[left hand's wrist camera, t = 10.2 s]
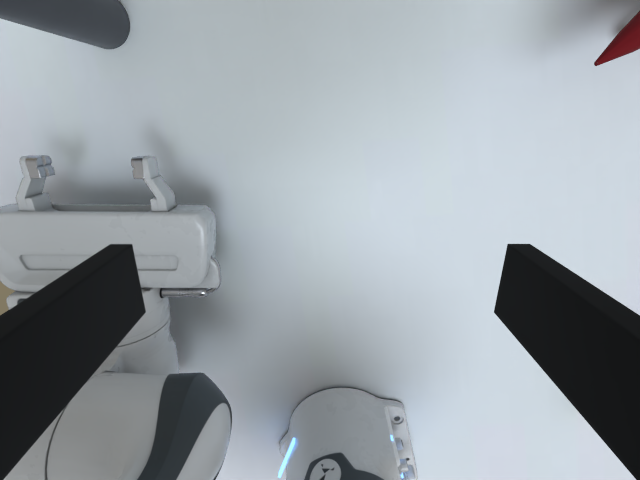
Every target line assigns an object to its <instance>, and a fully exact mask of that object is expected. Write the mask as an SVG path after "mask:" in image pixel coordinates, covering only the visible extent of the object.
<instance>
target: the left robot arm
mask: <svg viewBox="0 0 640 480" xmlns="http://www.w3.org/2000/svg"><path fill="white" fill-rule="evenodd" d="M145 313H146V310H145V305H144V300H143V295H142V290H141V285H140V280H139V275H138V270H137V265H136V260H135V255H134V250H133V246H132V244H110V245H108V246H106V247H105V248H103V249H102V250H100V251H99V252H97V253H96V254H94V255H93V256H91V257H90V258H88V259H87V260H85V261H83V262H82V263H80V264H79V265H77V266H76V267H74V268H73V269H71V270H70V271H68V272H67V273H65V274H63V275H62V276H60V277H59V278H57V279H56V280H54V281H53V282H51V283H50V284H48V285H47V286H45V287H43V288H42V289H40V290H39V291H37V292H36V293H34V294H33V295H31V296H30V297H28V298H27V299H25V300H24V301H22V302H20V303H19V304H17V305H16V306H14V307H13V308H11V309H10V310H8V311H7V312H5V313H4V314H2V315H0V480H4V478H5V477H6V476H7V475H8V474H9V473H10V471H11V470H12V469H13V468H14V467H15V466H16V464H17V463H18V462H19V461H20V460H21V458H22V457H23V456H24V455H25V454H26V453H27V451H28V450H29V449H30V448H31V447H32V446H33V444H34V443H35V442H36V441H37V440H38V438H39V437H40V436H41V435H42V434H43V433H44V431H45V430H46V429H47V428H48V427H49V426H50V424H51V423H52V422H53V421H54V420H55V419H56V417H57V416H58V415H59V414H60V413H61V411H62V410H63V409H64V408H65V407H66V406H67V404H68V403H69V402H70V401H71V400H72V399H73V397H74V396H75V395H76V394H77V393H78V391H79V390H80V389H81V388H82V387H83V386H84V384H85V383H86V382H87V381H88V380H89V379H90V377H91V376H92V375H93V374H94V373H95V371H96V370H97V369H98V368H99V367H100V366H101V364H102V363H103V362H104V361H105V360H106V359H107V357H108V356H109V355H110V354H111V353H112V352H113V350H114V349H115V348H116V347H117V346H118V344H119V343H120V342H121V341H122V340H123V339H124V337H125V336H126V335H127V334H128V333H129V332H130V330H131V329H132V328H133V327H134V326H135V324H136V323H137V322H138V321H139V320H140V319H141V317H142V316H143V315H144V314H145ZM494 313H495V314H496V315H497V316H498V317H499V319H500V320H501V321H502V322H503V323H504V324H505V326H506V327H507V328H508V329H509V330H510V332H511V333H512V334H513V335H514V336H515V337H516V339H517V340H518V341H519V342H520V343H521V344H522V346H523V347H524V348H525V349H526V350H527V352H528V353H529V354H530V355H531V356H532V357H533V359H534V360H535V361H536V362H537V363H538V364H539V366H540V367H541V368H542V369H543V370H544V371H545V373H546V374H547V375H548V376H549V377H550V379H551V380H552V381H553V382H554V383H555V384H556V386H557V387H558V388H559V389H560V390H561V391H562V393H563V394H564V395H565V396H566V397H567V399H568V400H569V401H570V402H571V403H572V404H573V406H574V407H575V408H576V409H577V410H578V411H579V413H580V414H581V415H582V416H583V417H584V419H585V420H586V421H587V422H588V423H589V424H590V426H591V427H592V428H593V429H594V430H595V431H596V433H597V434H598V435H599V436H600V437H601V438H602V440H603V441H604V442H605V443H606V444H607V446H608V447H609V448H610V449H611V450H612V451H613V453H614V454H615V455H616V456H617V457H618V458H619V460H620V461H621V462H622V463H623V464H624V466H625V467H626V468H627V469H628V470H629V471H630V473H631V474H632V475H633V476H634V477H635V478H636V480H640V315H638V314H636V313H635V312H633V311H632V310H630V309H629V308H627V307H626V306H624V305H623V304H621V303H620V302H618V301H616V300H615V299H613V298H612V297H610V296H609V295H607V294H606V293H604V292H603V291H601V290H600V289H598V288H597V287H595V286H593V285H592V284H590V283H589V282H587V281H586V280H584V279H583V278H581V277H580V276H578V275H577V274H575V273H573V272H572V271H570V270H569V269H567V268H566V267H564V266H563V265H561V264H560V263H558V262H557V261H555V260H553V259H552V258H550V257H549V256H547V255H546V254H544V253H543V252H541V251H540V250H538V249H537V248H535V247H534V246H532V245H530V244H508V246H507V250H506V255H505V260H504V265H503V270H502V275H501V280H500V285H499V290H498V295H497V300H496V305H495V310H494Z"/></svg>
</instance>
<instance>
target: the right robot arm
mask: <svg viewBox="0 0 640 480" xmlns="http://www.w3.org/2000/svg"><path fill="white" fill-rule="evenodd" d="M51 163H52V161H51V158H50V157H49V156H46V155H29V156H23V157H21V158H20V165H21V169H22V173H23V176H24V178H23V179H22V181H21V184H20V187H19V190H18V193H17V195H16V201H17V204H9V205H6V206H2V207H0V281H1V282H2V283H3V284H4V285H5V286H7V287H8V288H10V289H12V290H15V292H14V293H12V294H11V295H10V296H8V297H7V305H8V308H9V310H10V309H11V308H13V307H14V306H16V305H17V304H19V303H20V302H22V301H24V300H25V299H27V298H28V297H30V296H31V295H33V294H34V293H36V292H37V291H39V290H40V289H42V288H43V287H45V286H47V285H48V284H50V283H51V282H53V281H54V280H56V279H57V278H59V277H60V276H62V275H63V274H65V273H67V272H68V271H70V270H71V269H73V268H74V267H76V266H77V265H79V264H80V263H82V262H83V261H85V260H87V259H88V258H90V257H91V256H93V255H94V254H96V253H97V252H99V251H100V250H102V249H103V248H105V247H106V246H108V245H110V244H132V246H133V250H134V255H135V260H136V265H137V270H138V275H139V280H140V285H141V290H142V295H143V300H144V305H145V310H146V313H145V314H144V315H143V316H142V317H141V319H140V320H139V321H138V322H137V323H136V324H135V326H134V327H133V328H132V329H131V330H130V332H129V333H128V334H127V335H126V336H125V337H124V339H123V340H122V341H121V342H120V343H119V344H118V346H117V347H116V348H115V349H114V350H113V352H112V353H111V354H110V355H109V356H108V357H107V359H106V360H105V361H104V362H103V363H102V364H101V366H100V367H99V368H98V369H97V370H96V371H95V373H94V374H93V375H92V376H91V377H90V379H89V380H88V381H87V382H86V383H85V384H84V386H83V387H82V388H81V389H80V390H79V391H78V393H77V394H76V395H75V396H74V397H73V399H72V400H71V401H70V402H69V403H68V404H67V406H66V407H65V408H64V409H63V410H62V411H61V413H60V414H59V415H58V416H57V417H56V419H55V420H54V421H53V422H52V423H51V424H50V426H49V427H48V428H47V429H46V430H45V431H44V433H43V434H42V435H41V436H40V437H39V438H38V440H37V441H36V442H35V443H34V444H33V446H32V447H31V448H30V449H29V450H28V451H27V453H26V454H25V455H24V456H23V457H22V458H21V460H20V461H19V462H18V463H17V464H16V466H15V467H14V468H13V469H12V470H11V471H10V473H9V474H8V475H7V476H6V477H5V478H4V480H215V479H216V477H217V476H218V474H219V471H220V469H221V467H222V464H223V462H224V459H225V456H226V452H227V449H228V445H229V440H230V434H231V426H232V412H231V407H230V404H229V402H228V401H227V399H226V398H225V396H224V395H223V393H222V392H221V391H220V389H219V388H218V387H217V386H216V385H215V384H214V382H213V381H212V380H210V379H209V378H208V377H207V376H206V375H205V374H204V373H180V374H179V363H178V355H177V349H176V344H175V341H174V339H173V338H172V336H171V334H170V330H169V327H170V321H171V312H170V305H169V299H168V297H186V296H193V297H206V296H208V293H212V292H214V291H216V290H217V289H218V288H219V286H220V284H221V271H220V265H219V263H218V261H217V260H216V259H215V249H216V217H215V214H214V213H213V212H212V210H211V209H210V208H209V207H208V206H207V205H176V201H175V194H174V192H173V191H172V190H171V188H170V187H169V186H168V184H167V183H166V182H165V181H164V179H163V178H162V177H161V176H160V175H159V170H158V164H157V159H156V157H155V156H137V157H133V158H132V159H131V165H132V167H133V168H134V169H133V176H134V179H143V180H144V181H145V183H146V184H147V186H148V187H149V188H150V190H151V191H152V193H153V194H154V196H155V197H154V198H152V199H151V200H150V203H151V204H51V200H50V197H49V194H48V193H42V190H43V187H44V183H45V179H46V176H51V175H55V172H54V168H53V167H52V166H51ZM208 288H211V289H208ZM396 416H397V417H396ZM280 453H281V454H282V455H283V456H284V457H285V458H284V461H283V463H282V466H281V468H280V470H279V474H278V478H280V477H281V475H282V473H283V470H284V468H285V466H286V480H417V478H418V477H417V470H416V465H415V460H414V455H413V450H412V445H411V440H410V435H409V430H408V425H407V420H406V415H405V411H404V406H403V404H402V403H400V402H398V401H394V400H387V399H380V398H377V397H375V396H373V395H371V394H369V393H367V392H364V391H361V390H358V389H353V388H332V389H326V390H323V391H320V392H317V393H315V394H313V395H311V396H309V397H308V398H306V399H305V400H303V401H302V402H301V403H300V404H299V405H298V406H297V407H296V409H295V410H294V412H293V414H292V416H291V419H290V424H289V430H288V432H287V433H286V435H285V436H284V437H283V438H282V440H281V442H280Z"/></svg>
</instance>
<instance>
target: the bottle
mask: <svg viewBox="0 0 640 480" xmlns="http://www.w3.org/2000/svg"><path fill="white" fill-rule="evenodd" d="M0 18H1V19H5V20H8V21H11V22H15V23H18V24H22V25H25V26H29V27H32V28H36V29H39V30H42V31H46V32H49V33H53V34H56V35H60V36H63V37H67V38H70V39H73V40H77V41H80V42H84V43H87V44H91V45H94V46H97V47H101V48H104V49H114V48H117V47H119V46H121V45H122V44H123V43H124V42H125V41H126V39H127V37H128V34H129V28H130V25H129V18H128V15H127V12H126V10H125V8H124V7H123V5H122V4H121V3H120V2H119V1H118V0H0Z"/></svg>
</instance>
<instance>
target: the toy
mask: <svg viewBox="0 0 640 480" xmlns="http://www.w3.org/2000/svg"><path fill="white" fill-rule="evenodd" d="M638 49H640V11H639V12H638V13H637V14H636V15H635V16H634V18H633V19H632V20H631V21H630V22H629V23H628V24H627V25H626V26H625V27H624V28H623V29H622V30H621V31H620V32H619V33H618V34H617V36H616V37H615V38H614V39H613V41H612V42H611V43H610V44H609V45H608V47H607V48H606V49H605V50H604V52H603V53H602V54H601V55H600V56H599V58H598V59H597V60H596V61H595V63H594V65H595V66H597V65H600V64H603V63H605V62H608V61H610V60H613V59H616V58H618V57H621V56H623V55H626V54H629V53H631V52H634V51H636V50H638Z"/></svg>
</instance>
